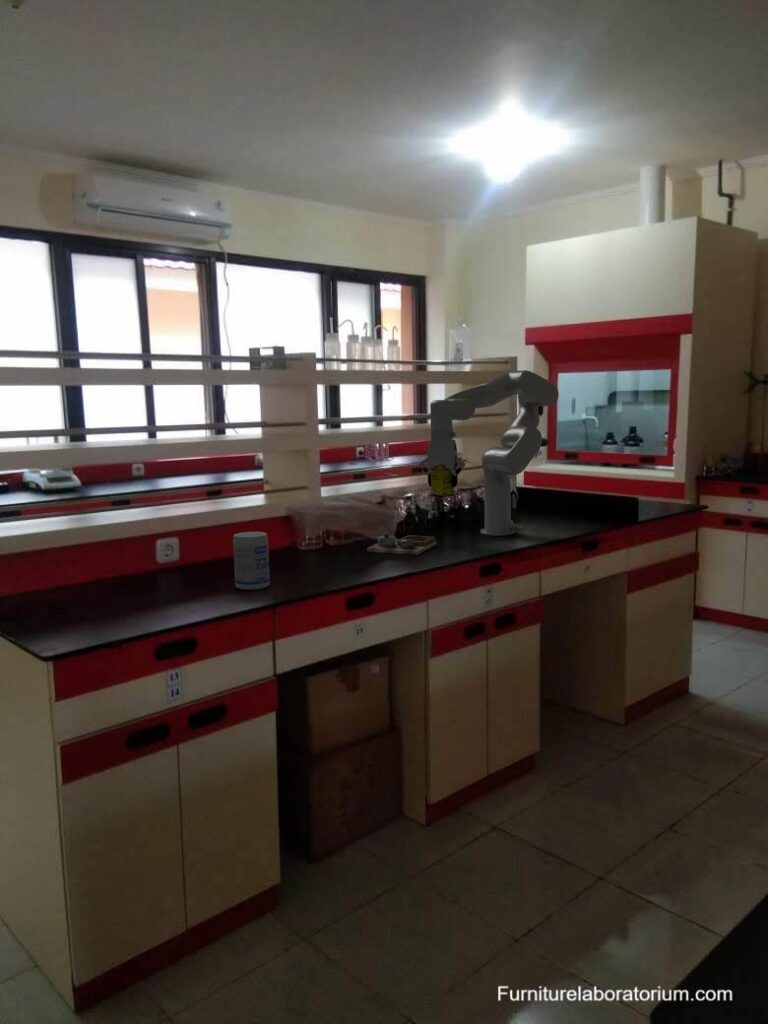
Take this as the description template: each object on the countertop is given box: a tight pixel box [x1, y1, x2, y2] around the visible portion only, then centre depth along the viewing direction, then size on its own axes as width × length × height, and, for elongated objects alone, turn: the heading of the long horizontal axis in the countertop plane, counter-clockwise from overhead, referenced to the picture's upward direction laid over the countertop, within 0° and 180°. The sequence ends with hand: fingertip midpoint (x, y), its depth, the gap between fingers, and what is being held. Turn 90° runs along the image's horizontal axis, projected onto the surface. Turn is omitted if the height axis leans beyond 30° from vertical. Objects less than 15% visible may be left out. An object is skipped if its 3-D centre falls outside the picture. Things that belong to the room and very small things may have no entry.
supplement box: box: [430, 466, 455, 498], centre depth 272 cm, size 6×6×11 cm
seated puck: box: [399, 538, 415, 549], centre depth 259 cm, size 5×5×2 cm
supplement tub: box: [232, 531, 271, 591], centre depth 214 cm, size 10×10×15 cm
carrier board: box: [366, 532, 437, 556], centre depth 264 cm, size 18×18×5 cm
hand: (442, 486), depth 272 cm, fingers closed on supplement box, 7 cm apart
